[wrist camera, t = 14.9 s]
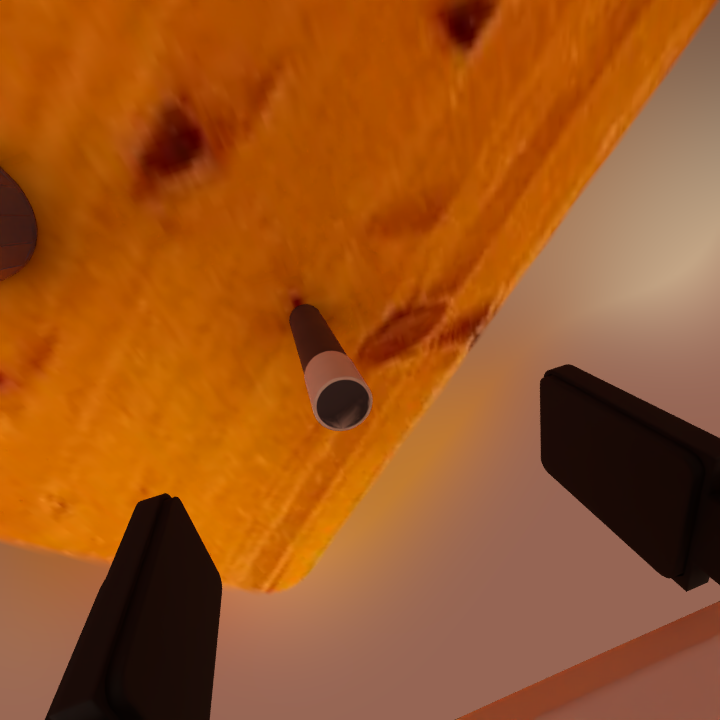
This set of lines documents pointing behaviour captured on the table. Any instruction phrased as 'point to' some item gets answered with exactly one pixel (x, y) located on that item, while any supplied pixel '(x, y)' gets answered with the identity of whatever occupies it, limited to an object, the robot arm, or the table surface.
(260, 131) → the table surface
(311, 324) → the marker pen
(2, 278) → the pen cup
